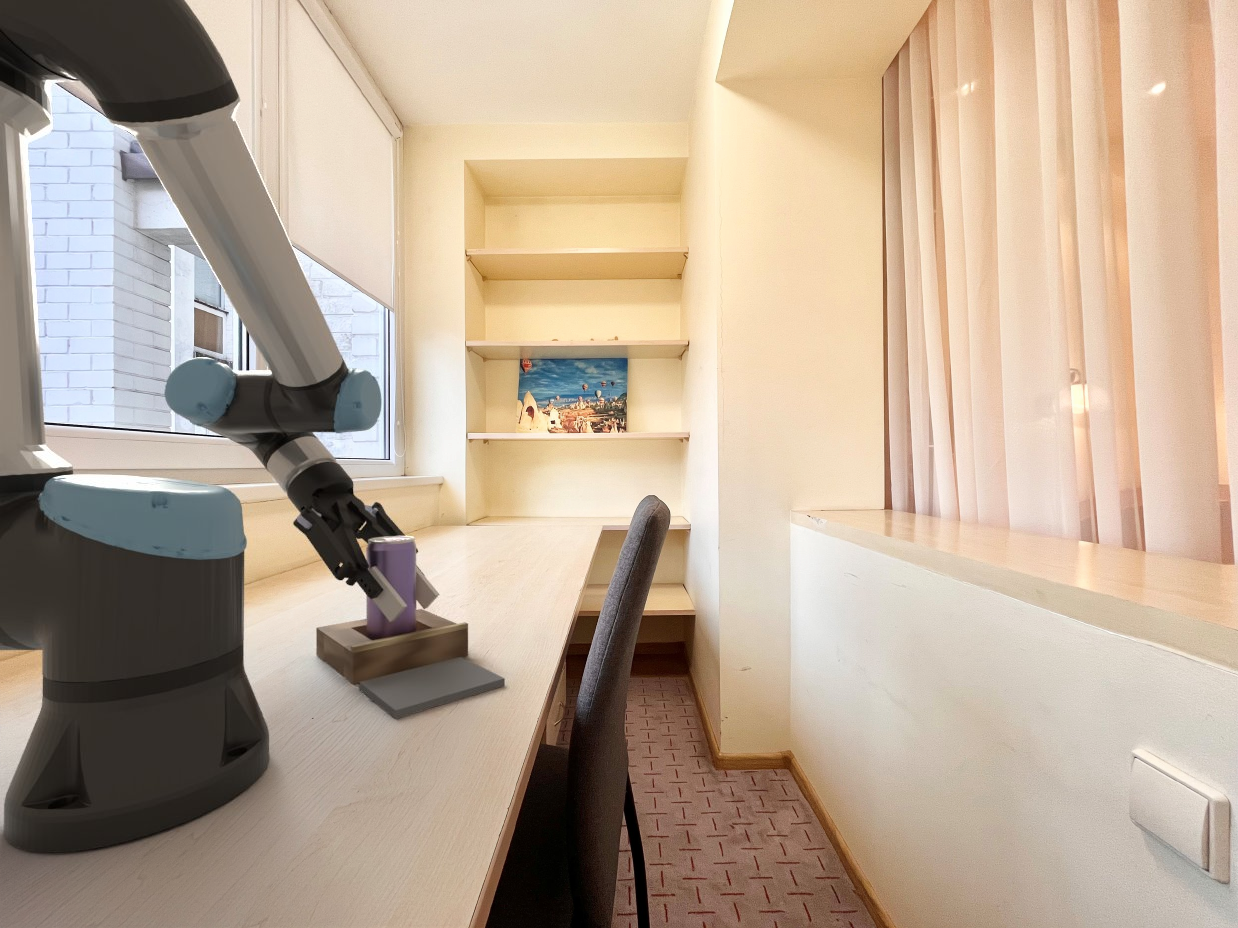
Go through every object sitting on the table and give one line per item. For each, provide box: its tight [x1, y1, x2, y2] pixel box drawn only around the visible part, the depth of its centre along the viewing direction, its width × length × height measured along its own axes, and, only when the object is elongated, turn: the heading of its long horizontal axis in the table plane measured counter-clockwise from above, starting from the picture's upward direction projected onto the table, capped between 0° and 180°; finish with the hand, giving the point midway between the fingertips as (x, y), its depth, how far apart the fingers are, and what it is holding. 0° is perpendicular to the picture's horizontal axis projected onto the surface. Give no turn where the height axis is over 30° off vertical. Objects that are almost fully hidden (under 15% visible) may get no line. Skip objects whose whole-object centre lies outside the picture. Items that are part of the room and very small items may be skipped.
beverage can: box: [365, 535, 417, 641], centre depth 73 cm, size 6×6×15 cm
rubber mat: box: [358, 657, 506, 719], centre depth 62 cm, size 12×10×1 cm
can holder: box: [315, 608, 469, 685], centre depth 73 cm, size 14×14×4 cm
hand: (415, 607), depth 72 cm, fingers closed on beverage can, 6 cm apart
